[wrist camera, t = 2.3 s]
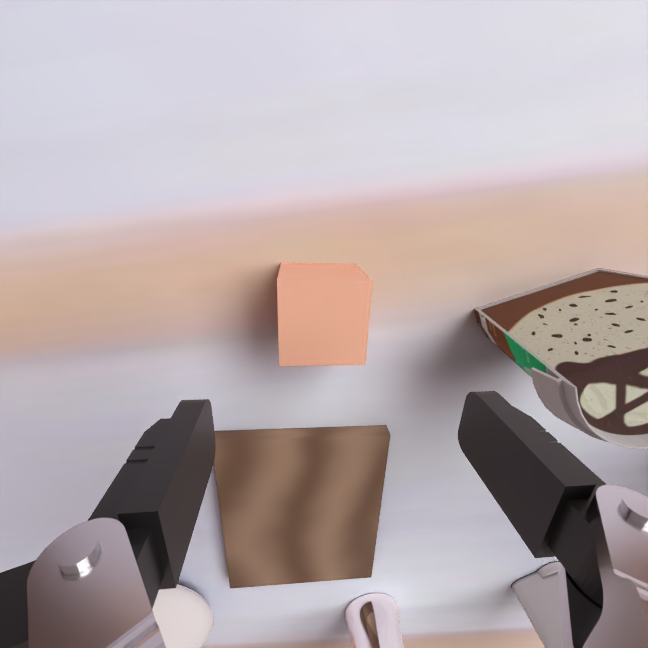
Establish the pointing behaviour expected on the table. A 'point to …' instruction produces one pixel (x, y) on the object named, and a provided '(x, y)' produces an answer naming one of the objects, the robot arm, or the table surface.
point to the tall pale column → (542, 603)
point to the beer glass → (374, 622)
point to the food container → (582, 350)
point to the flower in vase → (182, 617)
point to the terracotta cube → (322, 314)
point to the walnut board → (300, 502)
